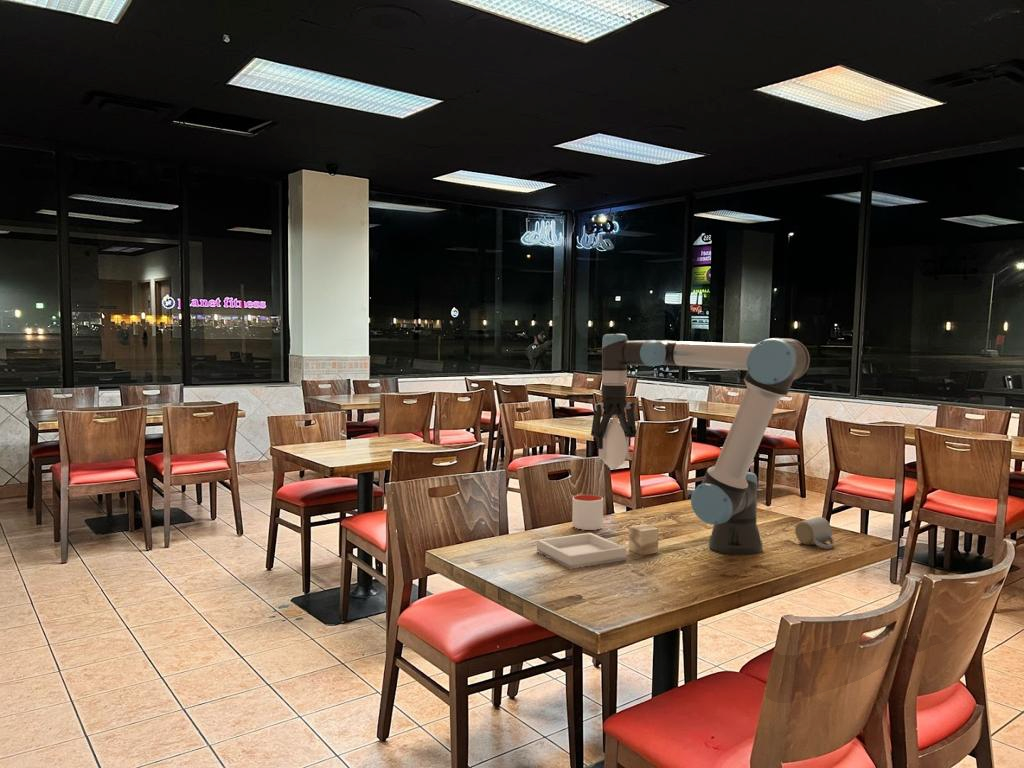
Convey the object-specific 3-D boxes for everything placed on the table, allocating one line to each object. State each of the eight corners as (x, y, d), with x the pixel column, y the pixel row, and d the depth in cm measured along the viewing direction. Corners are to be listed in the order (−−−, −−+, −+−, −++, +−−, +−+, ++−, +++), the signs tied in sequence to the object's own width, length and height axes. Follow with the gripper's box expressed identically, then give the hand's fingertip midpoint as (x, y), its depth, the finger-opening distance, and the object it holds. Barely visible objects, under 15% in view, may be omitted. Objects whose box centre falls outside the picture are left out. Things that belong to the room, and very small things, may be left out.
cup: (566, 526, 244) (566, 496, 243) (592, 522, 248) (592, 493, 247) (582, 533, 235) (582, 502, 234) (608, 529, 239) (609, 499, 238)
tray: (626, 560, 206) (626, 547, 205) (569, 569, 197) (569, 556, 197) (590, 544, 222) (590, 532, 222) (536, 551, 214) (536, 540, 214)
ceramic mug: (792, 541, 224) (793, 517, 224) (812, 538, 228) (813, 514, 227) (820, 551, 215) (821, 525, 214) (840, 547, 218) (841, 522, 218)
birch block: (658, 552, 213) (658, 528, 213) (641, 555, 211) (641, 531, 210) (645, 547, 219) (645, 524, 218) (628, 549, 216) (629, 526, 216)
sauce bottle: (596, 467, 229) (597, 409, 228) (619, 466, 231) (620, 409, 230) (607, 471, 222) (607, 411, 220) (630, 470, 224) (631, 411, 223)
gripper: (634, 382, 233) (634, 454, 234) (578, 384, 224) (578, 459, 225) (649, 384, 226) (648, 457, 227) (592, 386, 217) (591, 462, 218)
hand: (613, 458), depth 226 cm, fingers closed on sauce bottle, 8 cm apart
